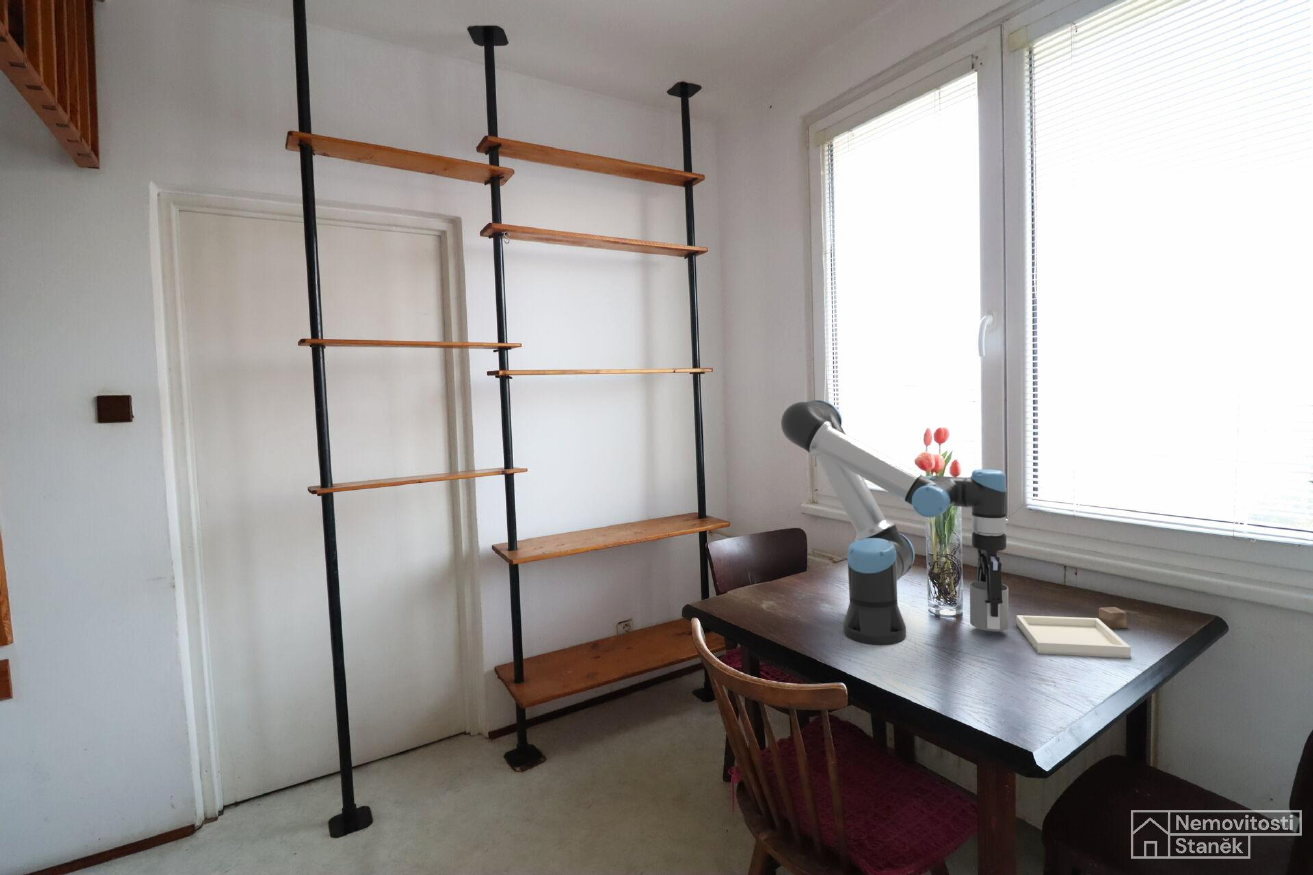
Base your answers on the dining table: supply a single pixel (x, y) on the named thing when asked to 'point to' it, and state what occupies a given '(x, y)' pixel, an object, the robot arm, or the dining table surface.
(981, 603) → the cup
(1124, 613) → the walnut block
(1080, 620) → the tray
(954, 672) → the dining table surface
